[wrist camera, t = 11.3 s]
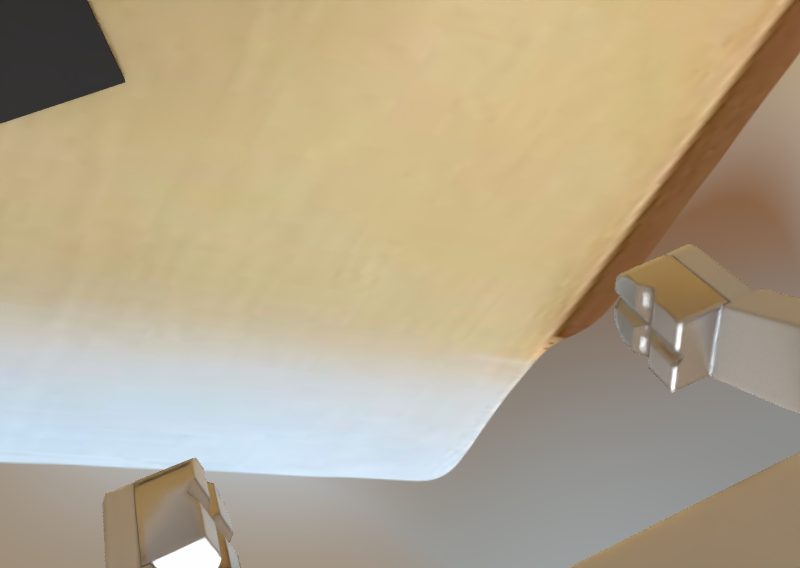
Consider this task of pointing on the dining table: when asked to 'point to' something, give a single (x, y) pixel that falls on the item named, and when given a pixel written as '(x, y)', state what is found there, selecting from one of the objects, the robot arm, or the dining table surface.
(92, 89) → the mat
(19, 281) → the dining table surface
